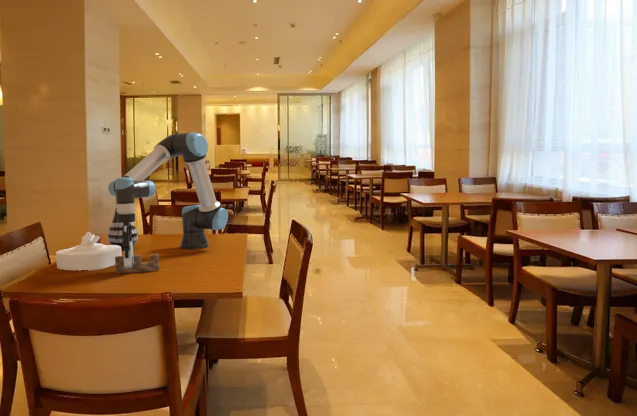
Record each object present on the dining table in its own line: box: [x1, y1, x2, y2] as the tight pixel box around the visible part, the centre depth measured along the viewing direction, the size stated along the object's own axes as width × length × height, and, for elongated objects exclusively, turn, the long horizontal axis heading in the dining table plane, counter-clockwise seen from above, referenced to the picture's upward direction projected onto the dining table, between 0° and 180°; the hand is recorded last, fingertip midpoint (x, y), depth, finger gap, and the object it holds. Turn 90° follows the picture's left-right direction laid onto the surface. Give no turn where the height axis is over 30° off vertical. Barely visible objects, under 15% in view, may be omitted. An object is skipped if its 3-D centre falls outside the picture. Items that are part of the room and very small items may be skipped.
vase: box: [106, 202, 139, 249], centre depth 289 cm, size 16×16×30 cm
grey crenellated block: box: [114, 253, 160, 274], centre depth 234 cm, size 18×3×7 cm, turn 105°
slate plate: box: [124, 241, 134, 268], centre depth 232 cm, size 10×3×10 cm, turn 15°
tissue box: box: [55, 231, 123, 272], centre depth 250 cm, size 25×25×16 cm
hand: (128, 262), depth 233 cm, fingers closed on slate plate, 10 cm apart
